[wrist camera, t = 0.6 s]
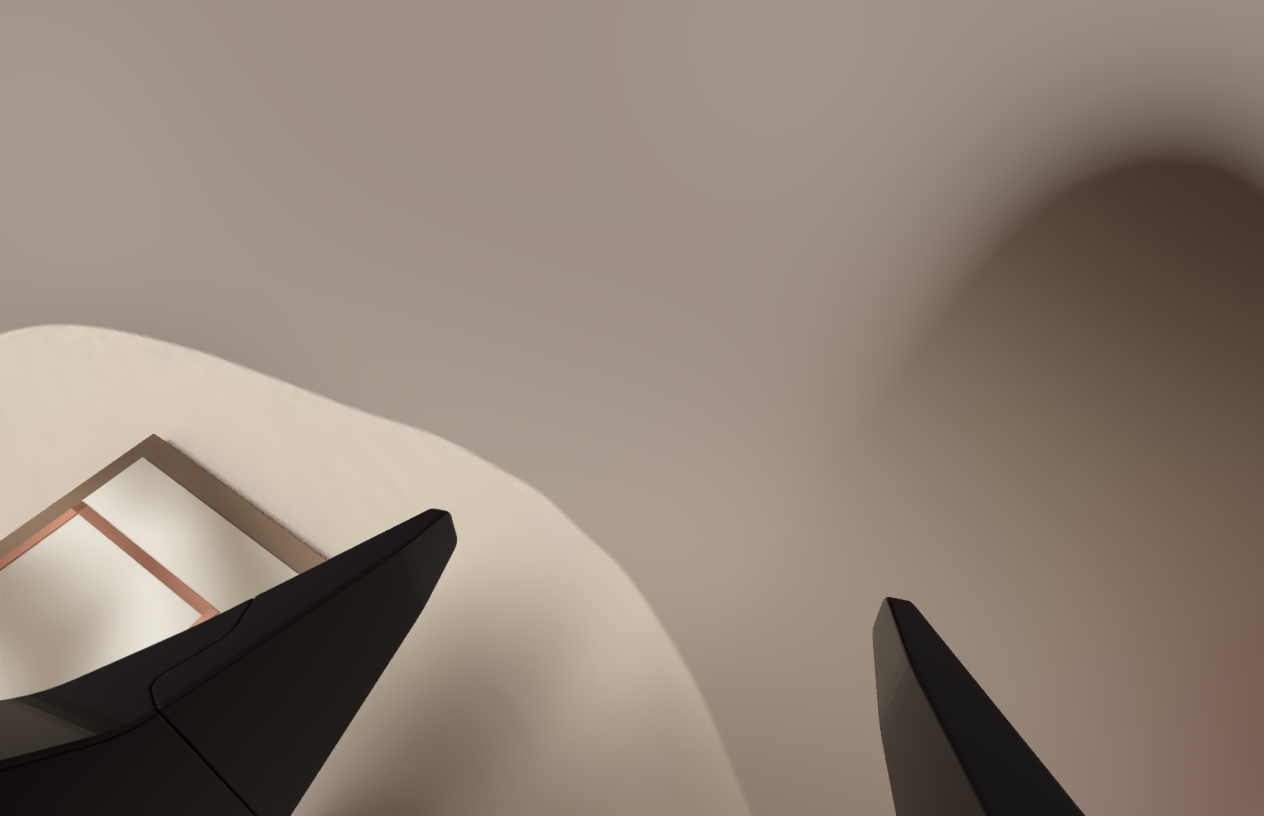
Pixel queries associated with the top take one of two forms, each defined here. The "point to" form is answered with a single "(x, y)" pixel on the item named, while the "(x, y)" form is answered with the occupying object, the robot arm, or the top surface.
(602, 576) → the top surface
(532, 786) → the top surface
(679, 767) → the top surface
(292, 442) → the top surface
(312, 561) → the brown framed white board
